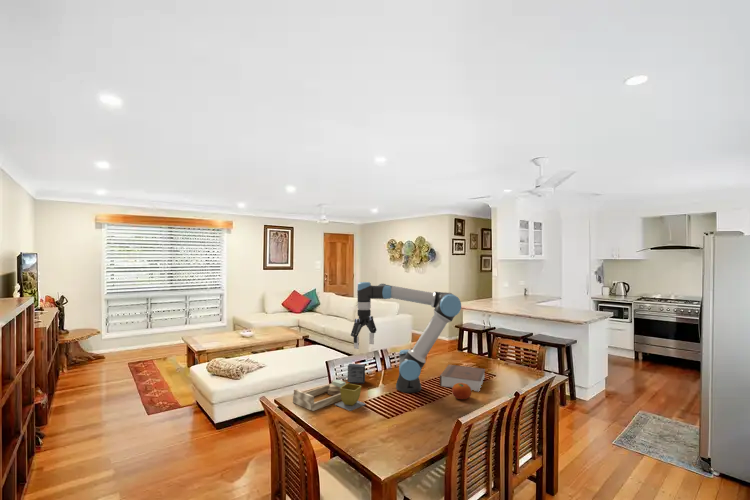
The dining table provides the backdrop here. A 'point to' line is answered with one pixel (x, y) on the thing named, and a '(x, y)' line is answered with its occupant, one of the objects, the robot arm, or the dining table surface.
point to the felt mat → (349, 407)
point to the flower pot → (350, 393)
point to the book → (462, 376)
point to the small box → (356, 373)
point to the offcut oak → (334, 388)
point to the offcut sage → (338, 383)
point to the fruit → (461, 391)
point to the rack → (308, 398)
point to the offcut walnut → (333, 392)
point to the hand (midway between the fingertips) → (364, 346)
